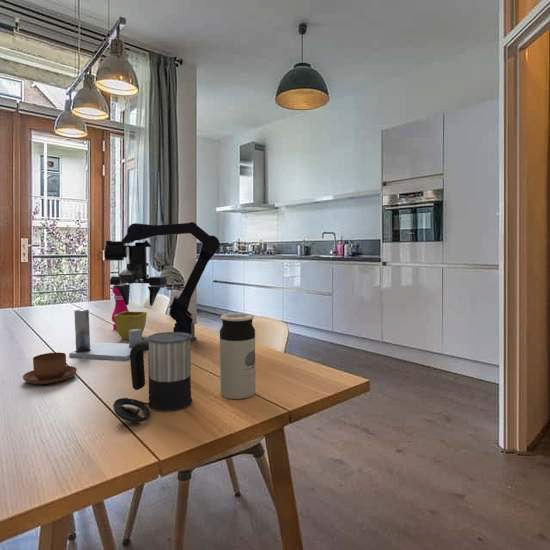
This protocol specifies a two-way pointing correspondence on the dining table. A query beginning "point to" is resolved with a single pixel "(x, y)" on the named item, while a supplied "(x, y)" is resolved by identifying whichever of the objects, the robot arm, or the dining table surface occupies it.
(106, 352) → the flange plate
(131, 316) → the flower pot
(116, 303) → the pepper mill
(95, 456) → the dining table surface
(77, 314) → the grey metallic rounded cylinder
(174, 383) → the milk frother
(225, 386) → the travel mug
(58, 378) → the cup and saucer
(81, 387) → the dining table surface
